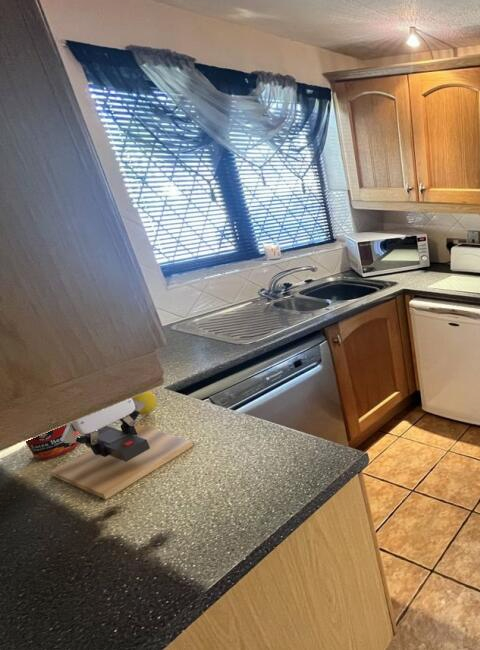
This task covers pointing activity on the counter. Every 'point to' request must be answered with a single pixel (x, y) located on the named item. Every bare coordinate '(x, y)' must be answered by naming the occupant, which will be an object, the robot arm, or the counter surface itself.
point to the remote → (121, 443)
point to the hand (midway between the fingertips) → (117, 446)
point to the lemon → (147, 402)
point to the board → (120, 464)
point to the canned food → (50, 444)
